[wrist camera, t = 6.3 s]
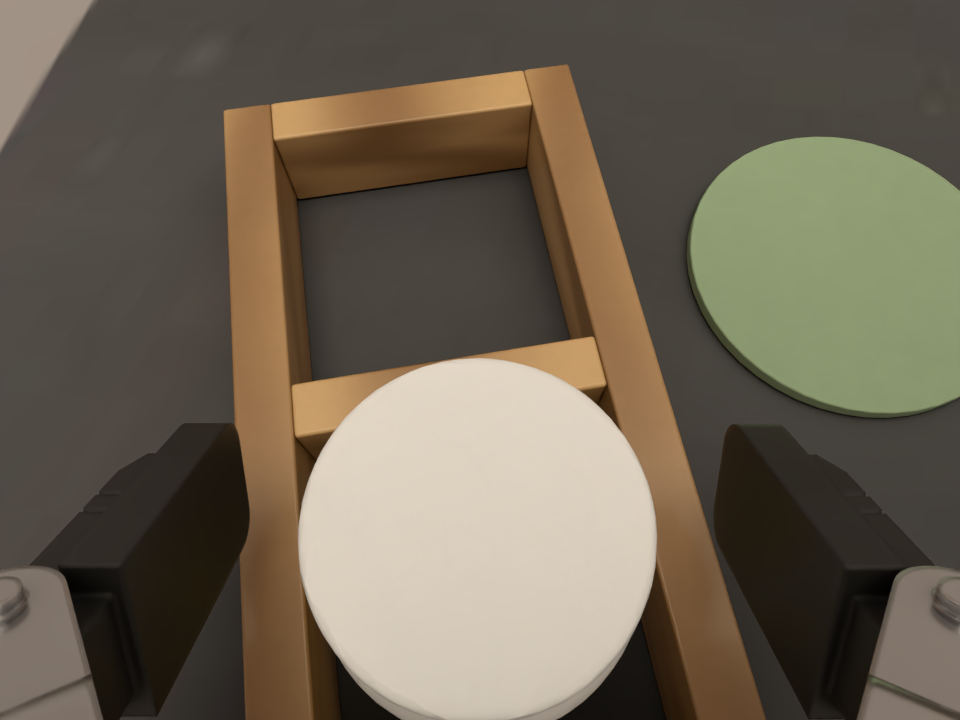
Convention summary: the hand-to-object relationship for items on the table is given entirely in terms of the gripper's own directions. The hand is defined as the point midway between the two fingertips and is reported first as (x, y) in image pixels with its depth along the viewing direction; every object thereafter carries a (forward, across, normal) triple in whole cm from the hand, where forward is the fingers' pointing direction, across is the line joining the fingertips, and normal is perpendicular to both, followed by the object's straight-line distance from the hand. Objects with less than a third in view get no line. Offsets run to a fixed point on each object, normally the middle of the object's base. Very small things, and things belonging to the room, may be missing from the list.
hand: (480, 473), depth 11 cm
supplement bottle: (+3, 0, +5) cm, 5 cm away
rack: (+5, +1, +2) cm, 6 cm away
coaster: (+8, -10, -1) cm, 13 cm away
